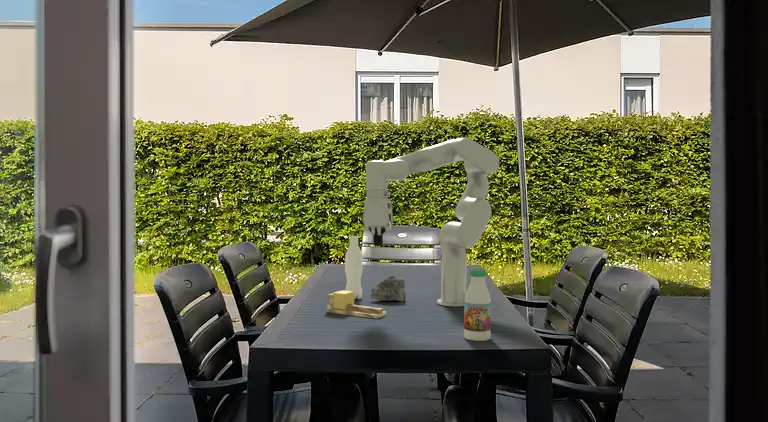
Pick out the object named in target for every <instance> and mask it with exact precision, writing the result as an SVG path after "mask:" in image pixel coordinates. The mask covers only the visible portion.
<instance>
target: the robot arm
mask: <svg viewBox="0 0 768 422" xmlns="http://www.w3.org/2000/svg"><path fill="white" fill-rule="evenodd" d="M457 162H463V168H464V170H465V173H466V175H467V184H466V187H465V189H464V191H463V193H462V195H461V197H460V199H459V201H458V203H457V205H456V206H455V209H454V213H455V217H456V218H457V219H458V220H459V221H449V222H447V223H445V224H444V225H443V226H442V227H441V229H440V230H439V231H440V232H439V240H440V246H441V247H440V248H441V277H440V278H441V283H440V284H441V286H440V288H441V289H440V293H441V294H440V296H441V297H440V298H439V299H437V300H436V303H437V304H438V305H440V306H444V307H453V308H454V307H460V308H462V307H464V303H465V295H466V292H467V267H468V266H467V265H468V264H467V263H468V258H467V252H466V251H467V250H468V249H471V248H473V247H474V246H476V245H477V244H478V243H479V241H480V239H481V237H482V235H483V233H484V232H485V230H486V227H487V226H488V224H489V222H490V219H491V216H492V206H491V204H490V202H489V201H488V200H487V199H486V197H487V195H488V193H489V190H490V184H489V179H488V176H487V175H491V174H493V173H496V172H497V170H498V169H499V167H500V158H499V157H498V155H497V154H496V153H495V152H494V151H493V150H490V149H488V148H487V147H485V146H484V145H481V144H480V143H478V142H476V141H475V140H472V139H471V138H468V137H459V138H456V139H455V138H453V139H450V140H447V141H443V142H441V143H438V144H435V145H432V146H429V147H425V148H422V149H419V150H416V151H414V152H410V153H408V154H405V155H404V154H403V155H402V156H398V157H395V158H391V159H388V160H386V161H384V160H370V161H366V163H365V183H366V184H365V187H366V191H365V192H366V199H364V204H363V212H362V213H363V215H362V216H363V225H364V227H363V228H364V230H367V231H369V232H370V233H371V235H372V237H373V246H374V247H382V246H383V244H384V243H383V242H384V239H383V236H384V235H385V233H386V232H387V231H390V230H392V225H393V223H394V219H393V218H394V217H393V208H392V203H391V199H390V198H388V197H389V196H391V191H389V190H388V182H392V181H393V182H395V181H396V182H399V181H402V180H406V178H407V177H408V176H409V175H412V174H417V173H424V172H429V171H434V170H436V169H438V168H441V167H445V166H447V165H451V164H453V163H457Z"/></svg>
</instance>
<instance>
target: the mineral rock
mask: <svg viewBox="0 0 768 422" xmlns="http://www.w3.org/2000/svg"><path fill="white" fill-rule="evenodd" d="M405 288H406V286H405V279H404V278H403V277H397V276H395V275H390V276H389V277H387V278H385V280H383V281H380V282H379V283H378V284H377V285H376V287H373V288H371V290H370V291H371V293H370V298H371V299H372V300H377V301H383V302H391V301H399V302H405V301H406V297H407V296H406V292H405Z"/></svg>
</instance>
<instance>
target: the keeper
mask: <svg viewBox="0 0 768 422" xmlns="http://www.w3.org/2000/svg"><path fill="white" fill-rule="evenodd" d="M332 293H333V308H335V309H343V310H346V309H347V305H348V304H352V305H355V300H354V292H353V291H345V290H344V289H343V290H339V291H338V290H337V291H334V292H332Z"/></svg>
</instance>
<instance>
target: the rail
mask: <svg viewBox="0 0 768 422" xmlns="http://www.w3.org/2000/svg"><path fill="white" fill-rule="evenodd" d="M333 293H334V292H332V293H328V294H327V298H326V300H327V304H326V306H327V307H326V308H327V309H326V310H327V311H326V312H327V313H332V314H339V315H345V316H346V315H348V316H354V317H361V318H369V319H376V320H377V319H379V318H382V317H385V316H387V311H384V308H382V307H374V306H366V305H360V304H359V305H358V304H354V305H352V304H348V305H347V309H346V310H343V309H335V308H333Z"/></svg>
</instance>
